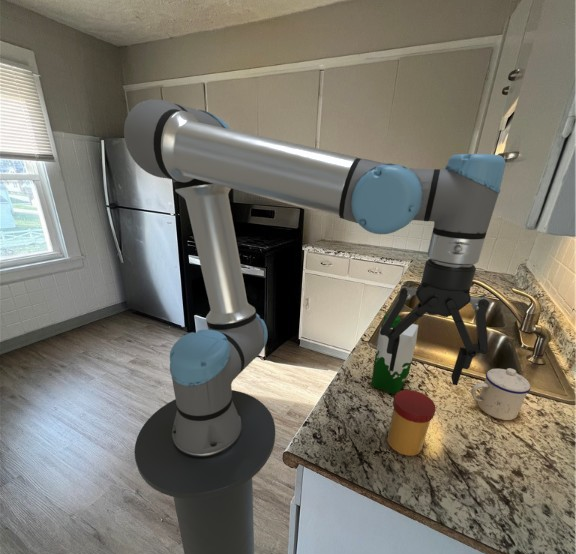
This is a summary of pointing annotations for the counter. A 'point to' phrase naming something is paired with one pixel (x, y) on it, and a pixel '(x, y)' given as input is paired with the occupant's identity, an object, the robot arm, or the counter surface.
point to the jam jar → (406, 435)
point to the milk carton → (397, 377)
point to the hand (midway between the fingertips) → (421, 374)
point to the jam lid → (414, 406)
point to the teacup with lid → (502, 393)
